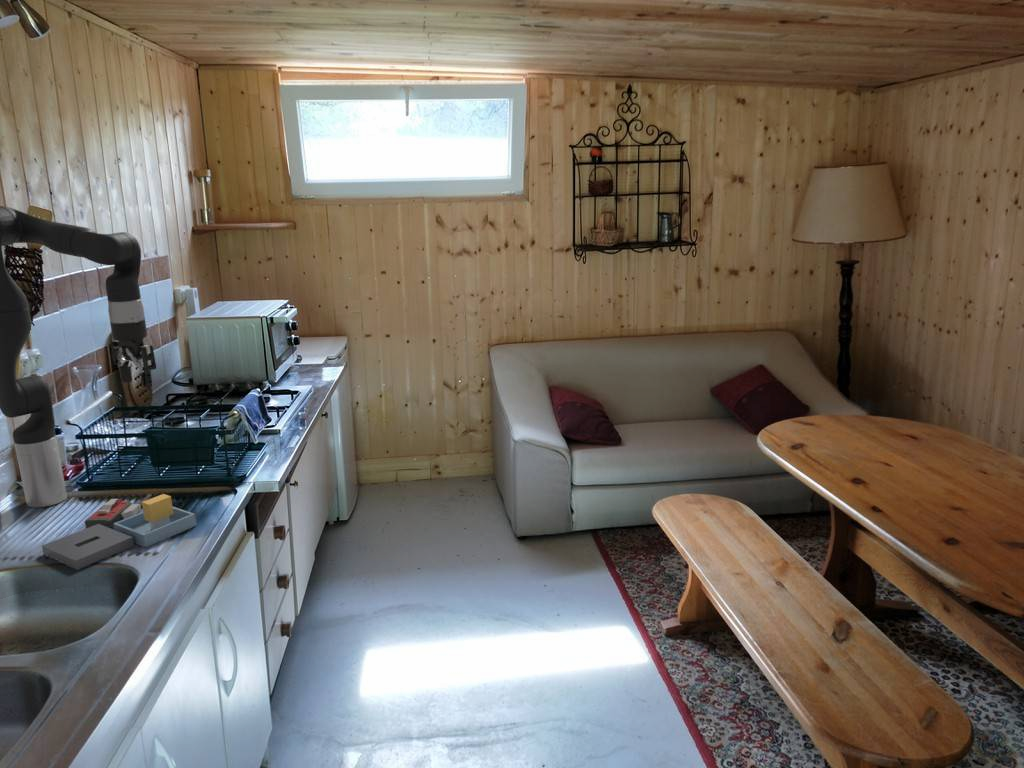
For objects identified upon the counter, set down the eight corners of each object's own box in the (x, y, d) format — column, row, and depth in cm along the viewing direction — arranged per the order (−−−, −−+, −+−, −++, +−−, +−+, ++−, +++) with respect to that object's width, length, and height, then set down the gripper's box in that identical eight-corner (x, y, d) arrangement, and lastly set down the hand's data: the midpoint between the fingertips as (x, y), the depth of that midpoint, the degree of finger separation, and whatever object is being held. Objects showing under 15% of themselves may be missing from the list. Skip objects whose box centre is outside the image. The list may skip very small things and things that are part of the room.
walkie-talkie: (118, 533, 185) (155, 499, 205) (115, 516, 184) (153, 483, 204) (81, 534, 186) (122, 500, 205) (78, 517, 184) (119, 484, 204)
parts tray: (115, 535, 184) (113, 523, 183) (166, 514, 194) (164, 503, 193) (145, 547, 177) (143, 535, 176) (196, 525, 188) (194, 513, 187)
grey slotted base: (43, 554, 175) (41, 545, 174) (100, 532, 185) (98, 523, 185) (77, 570, 168) (75, 560, 167) (134, 545, 178) (132, 537, 177)
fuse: (146, 529, 185) (141, 502, 183) (167, 520, 190) (163, 493, 188) (153, 532, 183) (149, 504, 182) (175, 523, 188) (170, 496, 186)
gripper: (95, 318, 186) (106, 384, 190) (129, 324, 178) (139, 392, 183) (125, 313, 192) (135, 377, 196) (159, 318, 184) (168, 385, 189)
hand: (137, 384), depth 190 cm, fingers open, 8 cm apart
